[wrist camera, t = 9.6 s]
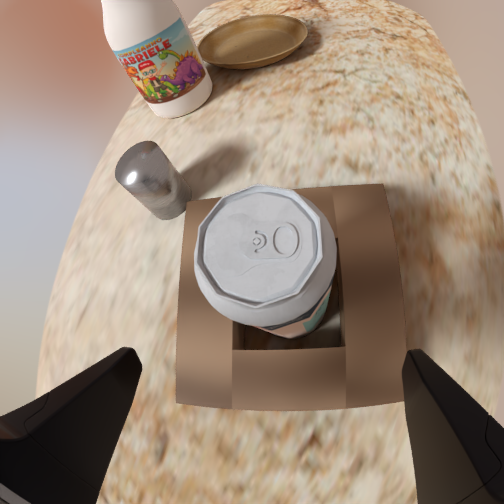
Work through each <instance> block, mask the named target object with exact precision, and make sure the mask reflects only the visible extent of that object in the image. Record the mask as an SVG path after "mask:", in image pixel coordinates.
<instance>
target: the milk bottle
mask: <svg viewBox="0 0 504 504" xmlns="http://www.w3.org/2000/svg"><path fill="white" fill-rule="evenodd" d="M101 2H102V8H103V21H104V31H105V35H106V38H107V40H108V42H109V45H110V47H111V48H112V50H113V52H114V53H115V55H116V57H117V58H118V60H119V61H120V63H121V64H122V66H123V67H124V69H125V70H126V72H127V74H128V75H129V76H130V78H131V80H132V81H133V83H134V84H135V86H136V87H137V89H138V90H139V92H140V93H141V94H142V96H143V97H144V99H145V100H146V102H147V103H148V105H149V106H150V108H151V109H152V110H153V112H154V113H155V114H156V115H158V116H159V117H162V118H168V119H170V118H177V117H181V116H183V115H186V114H188V113H190V112H192V111H194V110H195V109H197V108H198V107H200V106H201V105H202V104H203V103H204V102H205V101H206V100H207V99H208V98H209V96H210V94H211V92H212V81H211V79H210V76H209V74H208V71H207V69H206V67H205V65H204V62H203V60H202V58H201V55H200V53H199V51H198V49H197V46H196V44H195V42H194V40H193V38H192V35H191V33H190V31H189V29H188V27H187V25H186V22H185V20H184V18H183V17H182V15H181V13H180V11H179V9H178V7H177V6H176V4H175V3H174V2H173V1H172V0H101Z"/></svg>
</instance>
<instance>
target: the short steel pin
mask: <svg viewBox="0 0 504 504" xmlns="http://www.w3.org/2000/svg"><path fill="white" fill-rule="evenodd" d="M115 177H116V180H117V181H118V182H119V183H120V184H121V185H122V186H123V187H124V188H125V189H126V190H128V191H129V192H130V193H131V194H132V195H133V196H134V197H135V198H136V199H137V200H139V201H140V202H141V203H142V204H143V205H144V206H145V207H146V208H147V209H148V210H150V211H151V212H152V213H153V214H154V215H155V216H156V217H158V218H159V219H162V220H169V219H173V218H175V217H177V216H179V215H180V214H181V213H183V212H184V211H185V209H186V205H187V202H189V201H190V200H191V189H190V187H189V186H188V184H187V183H186V182H185V180H184V179H183V178H182V176H181V175H180V174H179V172H178V171H177V170H176V168H175V167H174V166H173V165H172V163H171V162H170V161H169V159H168V158H167V157H166V155H165V154H164V153H163V151H162V150H161V149H160V147H159V146H158V145H157V144H156V143H155V142H153V141H143V142H140V143H138V144H136V145H134V146H132V147H131V148H130V149H128V150H127V151H126V152H125V153H124V154H123V156H122V157H121V158H120V160H119V162H118V164H117V166H116V170H115Z"/></svg>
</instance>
